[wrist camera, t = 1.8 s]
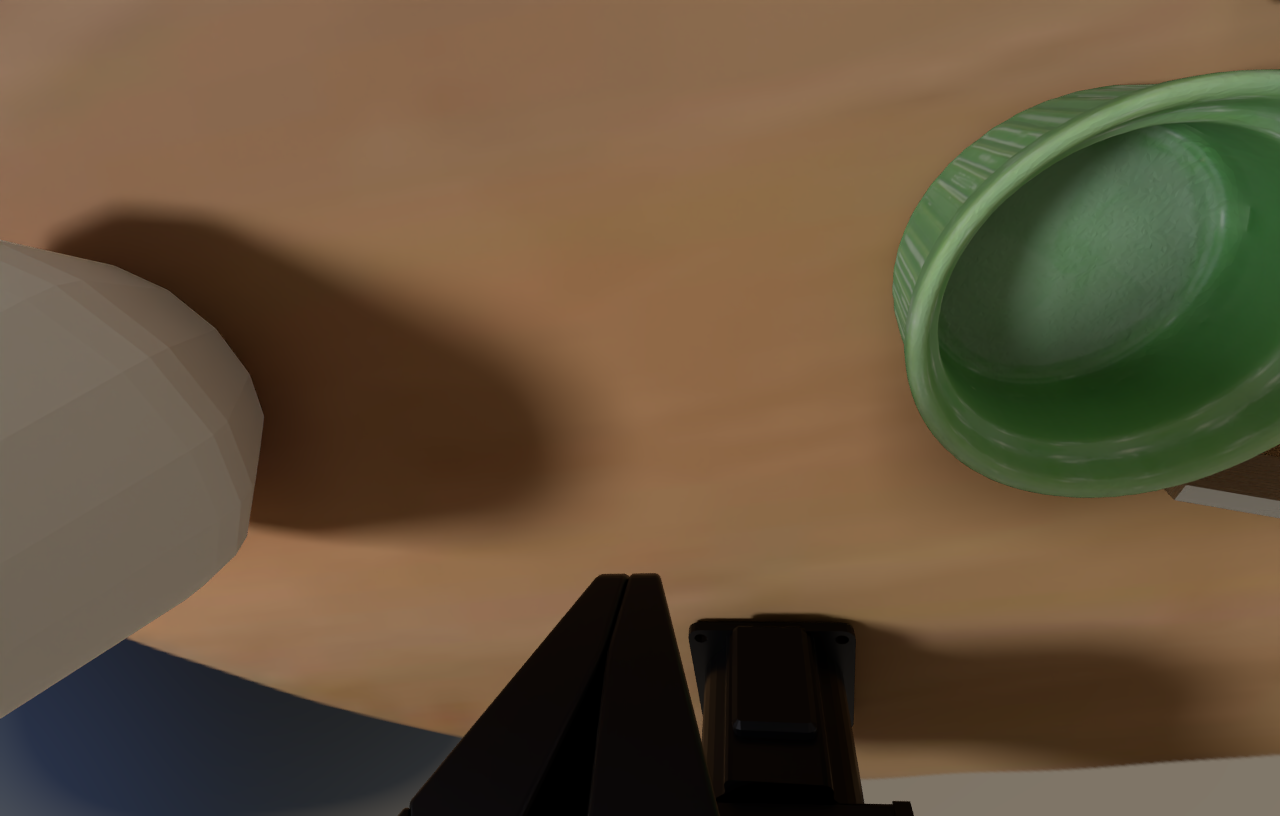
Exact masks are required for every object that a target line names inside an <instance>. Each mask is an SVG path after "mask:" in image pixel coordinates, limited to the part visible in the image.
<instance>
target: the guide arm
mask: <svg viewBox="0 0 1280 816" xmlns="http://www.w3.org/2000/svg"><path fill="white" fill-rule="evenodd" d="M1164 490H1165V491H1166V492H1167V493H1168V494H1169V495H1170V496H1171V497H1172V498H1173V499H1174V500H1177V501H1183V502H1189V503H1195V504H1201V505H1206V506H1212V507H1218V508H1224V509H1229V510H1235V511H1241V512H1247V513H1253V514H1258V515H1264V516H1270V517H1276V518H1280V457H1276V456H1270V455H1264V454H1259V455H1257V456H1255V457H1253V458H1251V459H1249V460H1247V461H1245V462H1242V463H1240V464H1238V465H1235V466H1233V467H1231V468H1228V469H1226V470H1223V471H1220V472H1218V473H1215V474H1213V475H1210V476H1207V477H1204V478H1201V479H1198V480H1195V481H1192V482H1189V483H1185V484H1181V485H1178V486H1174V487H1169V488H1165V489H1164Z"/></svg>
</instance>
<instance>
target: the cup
mask: <svg viewBox="0 0 1280 816" xmlns="http://www.w3.org/2000/svg"><path fill="white" fill-rule="evenodd" d="M263 422H264V414H263V412H262V409H261V406H260V403H259V400H258V397H257V394H256V391H255V388H254V385H253V382H252V379H251V377H250V374H249V372H248V371H247V370H246V368H245V367H244V366H243V364H242V363H241V362H240V360H239V359H238V358H237V356H236V355H235V354H234V352H233V351H232V350H231V348H230V347H229V346H228V344H227V343H226V341H225V340H224V339H223V337H222V336H221V335H220V333H219V332H218V331H217V329H216V328H214V327H213V326H212V325H211V324H209V323H208V322H207V321H206V320H205V319H203V318H202V317H201V316H200V315H198V314H197V313H196V312H195V311H193V310H192V309H191V308H190V307H189V306H187V305H186V304H185V303H184V302H182V301H181V300H180V299H179V298H177V297H176V296H175V295H174V294H172V293H171V292H170V291H169V290H167V289H165V288H163V287H160V286H158V285H156V284H154V283H152V282H150V281H147V280H145V279H143V278H141V277H139V276H136V275H134V274H132V273H130V272H128V271H125V270H123V269H121V268H119V267H117V266H114V265H110V264H106V263H101V262H97V261H92V260H88V259H83V258H79V257H74V256H70V255H65V254H61V253H56V252H52V251H47V250H43V249H39V248H34V247H30V246H25V245H21V244H16V243H12V242H7V241H3V240H0V718H2V717H4V716H5V715H7V714H8V713H10V712H11V711H13V710H14V709H16V708H18V707H19V706H21V705H22V704H24V703H25V702H27V701H29V700H30V699H32V698H33V697H35V696H36V695H38V694H39V693H41V692H43V691H44V690H46V689H47V688H49V687H50V686H52V685H53V684H55V683H57V682H58V681H60V680H61V679H63V678H64V677H66V676H67V675H69V674H70V673H72V672H74V671H75V670H77V669H78V668H80V667H82V666H83V665H85V664H86V663H88V662H89V661H91V660H92V659H94V658H96V657H97V656H99V655H100V654H102V653H103V652H105V651H106V650H108V649H110V648H111V647H113V646H114V645H116V644H118V643H119V642H120V641H122V640H124V639H125V638H127V637H128V636H130V635H132V634H133V633H135V632H136V631H138V630H139V629H141V628H142V627H144V626H146V625H147V624H149V623H150V622H152V621H153V620H155V619H157V618H158V617H160V616H161V615H163V614H164V613H166V612H167V611H169V610H171V609H172V608H174V607H175V606H177V605H178V604H180V603H181V602H183V601H185V600H186V599H187V598H188V597H190V596H191V595H192V594H194V593H195V592H196V591H197V590H199V589H200V588H201V587H202V586H204V585H205V584H206V583H207V582H208V581H209V580H210V579H211V578H212V577H213V576H214V575H215V574H216V573H217V572H218V571H220V570H221V569H222V568H223V567H224V566H225V565H226V564H227V563H228V562H229V561H230V560H231V559H232V558H233V557H234V556H235V555H236V554H237V552H238V550H239V549H240V547H241V545H242V544H243V542H244V540H245V539H246V537H247V533H248V526H249V520H250V513H251V507H252V500H253V494H254V487H255V481H256V474H257V467H258V461H259V454H260V447H261V439H262V431H263Z"/></svg>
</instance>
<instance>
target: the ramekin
mask: <svg viewBox="0 0 1280 816" xmlns="http://www.w3.org/2000/svg"><path fill="white" fill-rule="evenodd" d="M893 298H894V311H895V315H896V319H897V322H898V326H899V331H900V334H901V337H902V340H903V343H904V353H905V363H906V371H907V377H908V382H909V385H910V389H911V393H912V396H913V399H914V401H915V404H916V406H917V408H918V411H919V413H920V415H921V416H922V418H923V420H924V422H925V424H926V425H927V427H928V428H929V430H930V431H931V432H932V434H933V435H934V436H935V438H936V439H937V440H938V441H939V442H940V443H941V444H942V445H943V446H944V448H945V449H947V450H948V451H949V452H950V453H951V454H952V455H954V456H955V457H956V458H957V459H958V460H959V461H961V462H962V463H964V464H965V465H966V466H968V467H969V468H971V469H972V470H974V471H976V472H978V473H980V474H982V475H984V476H985V477H987V478H989V479H991V480H994V481H997V482H999V483H1002V484H1005V485H1008V486H1010V487H1013V488H1017V489H1021V490H1025V491H1029V492H1034V493H1039V494H1045V495H1054V496H1064V497H1076V498H1095V497H1098V498H1099V497H1117V496H1124V495H1134V494H1140V493H1145V492H1151V491H1157V490H1160V489H1165V488H1169V487H1174V486H1178V485H1181V484H1185V483H1189V482H1192V481H1195V480H1198V479H1201V478H1204V477H1207V476H1210V475H1213V474H1215V473H1218V472H1220V471H1223V470H1226V469H1228V468H1231V467H1233V466H1235V465H1238V464H1240V463H1242V462H1245V461H1247V460H1249V459H1251V458H1253V457H1255V456H1257V455H1259V454H1261V453H1263V452H1265V451H1267V450H1269V449H1271V448H1273V447H1275V446H1277V445H1279V444H1280V70H1242V71H1229V72H1218V73H1211V74H1205V75H1199V76H1193V77H1187V78H1182V79H1177V80H1172V81H1167V82H1163V83H1160V84H1148V85H1113V86H1105V87H1099V88H1094V89H1089V90H1083V91H1077V92H1074V93H1071V94H1068V95H1065V96H1061V97H1058V98H1055V99H1051V100H1048V101H1046V102H1043V103H1041V104H1038V105H1036V106H1034V107H1032V108H1029V109H1027V110H1025V111H1023V112H1020V113H1018V114H1016V115H1015V116H1013V117H1012V118H1010V119H1009V120H1007V121H1005V122H1003V123H1001V124H999V125H997V126H996V127H994V128H992V129H991V130H990V131H988V132H987V133H986V134H985V135H983V136H982V137H981V138H980V139H978V140H977V141H976V142H974V143H973V144H971V145H970V146H969V147H967V148H966V149H965V150H964V151H963V152H962V153H961V154H959V155H958V156H957V157H956V158H955V159H954V160H953V161H952V162H951V163H950V164H949V165H948V166H947V167H946V168H945V170H944V171H943V172H942V173H941V174H940V175H939V176H938V177H937V178H936V180H935V181H934V182H933V183H932V184H931V186H930V187H929V188H928V190H927V192H926V193H925V195H924V196H923V198H922V199H921V201H920V202H919V204H918V205H917V207H916V208H915V210H914V212H913V214H912V216H911V218H910V220H909V222H908V224H907V227H906V229H905V231H904V234H903V237H902V239H901V242H900V245H899V248H898V252H897V257H896V262H895V266H894V275H893Z"/></svg>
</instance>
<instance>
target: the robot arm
mask: <svg viewBox="0 0 1280 816" xmlns="http://www.w3.org/2000/svg"><path fill="white" fill-rule="evenodd" d="M689 644H690V649H691V654H692V660H693V665H694V671H695V676H696V682H697V687H698V693H699V698H700V703H701V709H702V714H703V728H702V742H701V738H700V734H699V729H698V725H697V721H696V717H695V713H694V709H693V705H692V701H691V697H690V693H689V689H688V685H687V681H686V677H685V673H684V669H683V665H682V661H681V657H680V653H679V649H678V645H677V641H676V637H675V633H674V629H673V625H672V621H671V617H670V613H669V609H668V605H667V601H666V597H665V593H664V589H663V585H662V581H661V578H660V576H659V575H658V574H656V573H640V574H632V575H631V576H630V577H629V576H628V575H627V574H601V575H599V576H598V577H596V578H595V580H594V581H593V582H592V583H591V584H590V586H589V587H588V588H587V589H586V590H585V592H584V593H583V594H582V595H581V596H580V598H579V599H578V600H577V601H576V602H575V604H574V605H573V606H572V607H571V608H570V610H569V611H568V612H567V613H566V614H565V616H564V617H563V618H562V619H561V620H560V622H559V623H558V624H557V625H556V626H555V628H554V629H553V630H552V631H551V632H550V634H549V635H548V636H547V637H546V638H545V640H544V641H543V642H542V643H541V644H540V646H539V647H538V648H537V649H536V650H535V652H534V653H533V654H532V655H531V657H530V658H529V659H528V660H527V661H526V663H525V664H524V665H523V666H522V667H521V669H520V670H519V671H518V672H517V673H516V675H515V676H514V677H513V678H512V679H511V681H510V682H509V683H508V684H507V685H506V687H505V688H504V689H503V690H502V691H501V693H500V694H499V695H498V696H497V697H496V699H495V700H494V701H493V702H492V703H491V705H490V706H489V707H488V708H487V709H486V711H485V712H484V713H483V714H482V715H481V717H480V718H479V719H478V720H477V721H476V723H475V724H474V725H473V726H472V727H471V729H470V730H469V731H468V732H467V734H466V735H465V736H464V737H463V738H462V740H461V741H460V742H459V743H458V744H457V746H456V747H455V748H454V749H453V750H452V752H451V753H450V754H449V755H448V756H447V758H446V759H445V760H444V761H443V762H442V764H441V765H440V766H439V767H438V768H437V770H436V771H435V772H434V773H433V775H432V776H431V777H430V778H429V779H428V780H427V782H426V783H425V784H424V785H423V787H422V788H421V789H420V790H419V791H418V793H417V794H416V795H415V796H414V797H413V798H412V800H411V802H410V809H409V808H405V809H403V810H402V811H401V813H400V814H399V815H398V816H914V815H913V811H912V807H911V803H910V802H908V801H893V802H892V803H893V804H864V799H863V792H862V786H861V780H860V774H859V768H858V762H857V756H856V750H855V744H854V738H853V732H852V726H853V720H854V683H855V647H856V639H855V634H854V630H853V628H852V627H851V626H850V625H848V624H846V623H785V622H697V623H694V624H692V625H691V626H690V628H689Z"/></svg>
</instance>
